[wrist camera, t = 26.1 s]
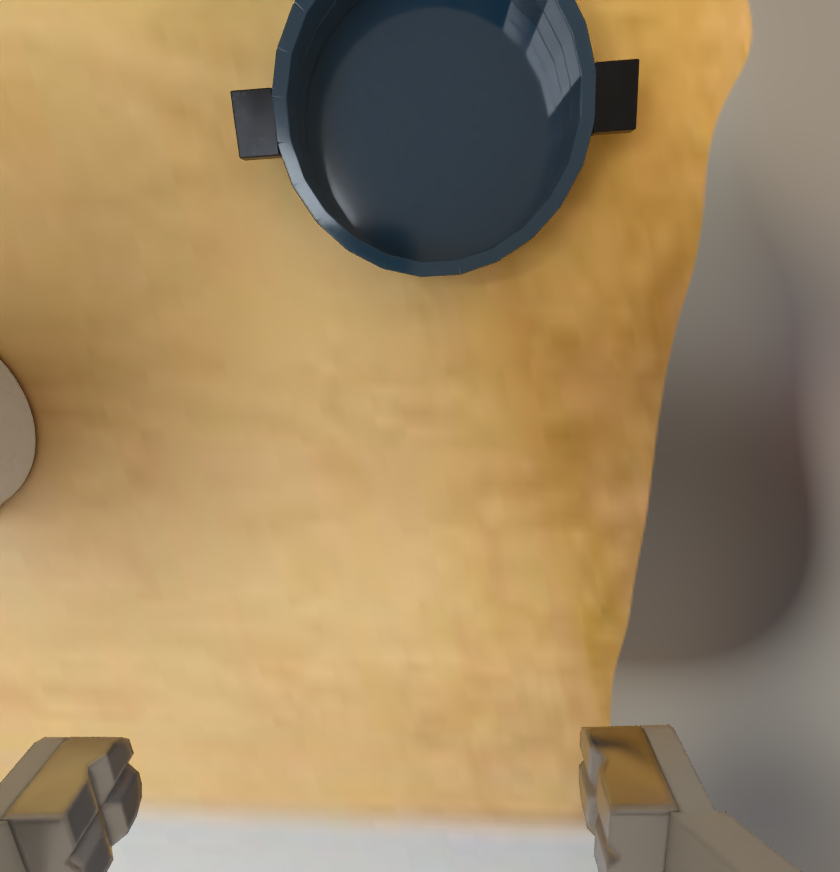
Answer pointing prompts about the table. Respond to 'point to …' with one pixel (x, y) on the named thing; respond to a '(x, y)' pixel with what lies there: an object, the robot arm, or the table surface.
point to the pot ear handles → (610, 118)
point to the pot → (433, 123)
